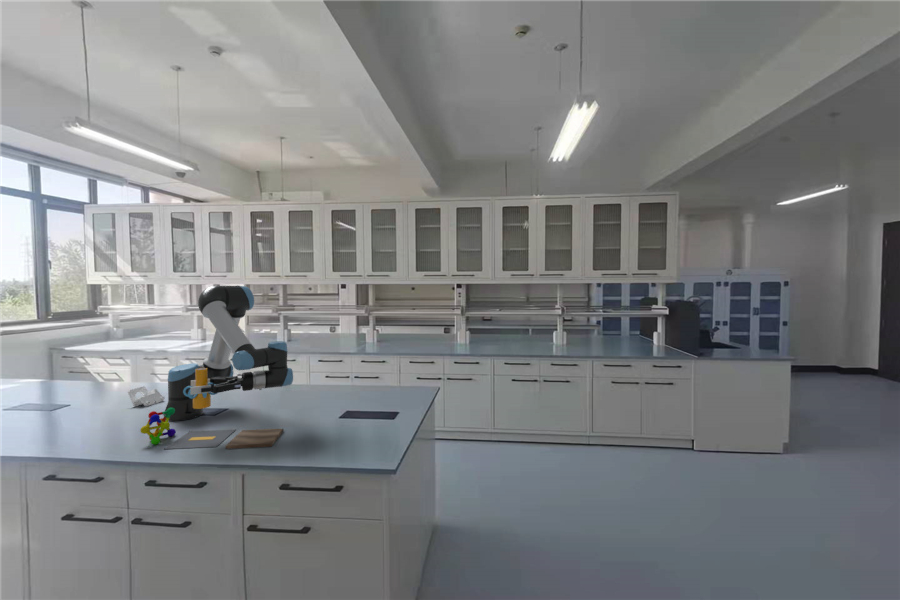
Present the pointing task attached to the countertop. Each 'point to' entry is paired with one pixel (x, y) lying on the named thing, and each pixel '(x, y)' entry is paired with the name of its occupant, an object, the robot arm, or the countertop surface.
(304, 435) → the countertop surface
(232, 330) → the robot arm
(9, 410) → the countertop surface
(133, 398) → the mounting bracket
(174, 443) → the mat
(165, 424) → the molecular model
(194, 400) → the cylinder
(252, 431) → the board
